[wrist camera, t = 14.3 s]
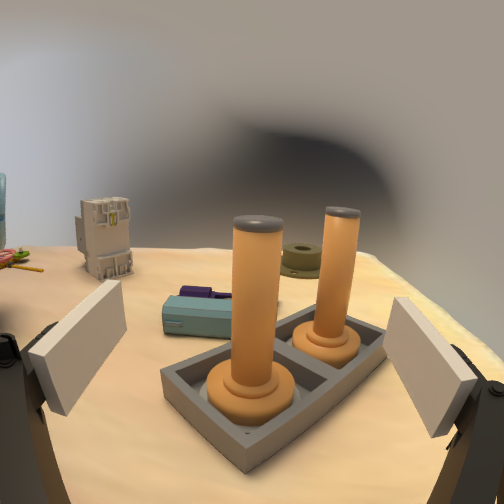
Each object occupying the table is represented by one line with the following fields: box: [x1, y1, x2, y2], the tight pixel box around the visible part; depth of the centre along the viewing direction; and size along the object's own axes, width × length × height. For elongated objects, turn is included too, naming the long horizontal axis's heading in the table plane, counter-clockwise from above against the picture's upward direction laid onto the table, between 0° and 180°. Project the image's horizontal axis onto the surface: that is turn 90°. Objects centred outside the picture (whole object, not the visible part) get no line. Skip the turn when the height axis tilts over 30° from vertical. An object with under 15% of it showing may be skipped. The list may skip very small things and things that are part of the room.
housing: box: [160, 304, 387, 473], centre depth 31 cm, size 24×12×4 cm, turn 133°
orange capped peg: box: [292, 207, 361, 369], centre depth 33 cm, size 8×8×17 cm
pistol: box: [162, 286, 277, 339], centre depth 46 cm, size 4×16×15 cm
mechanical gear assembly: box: [0, 247, 44, 272], centre depth 58 cm, size 30×4×15 cm
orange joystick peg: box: [206, 215, 295, 426], centre depth 25 cm, size 8×8×17 cm
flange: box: [280, 243, 322, 279], centre depth 69 cm, size 5×15×15 cm
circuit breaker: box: [75, 197, 133, 282], centre depth 60 cm, size 8×14×15 cm, turn 50°
